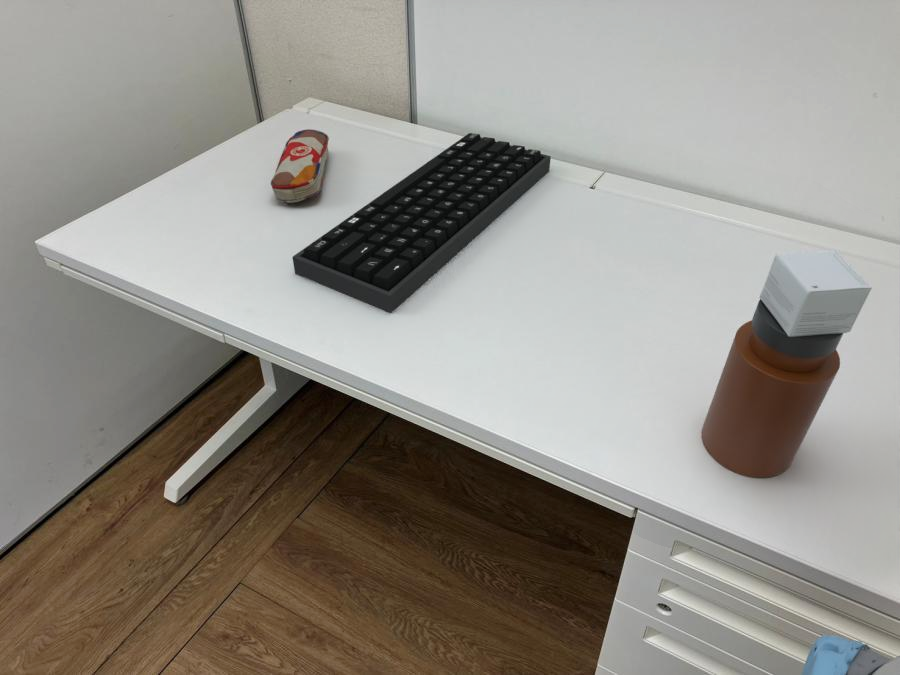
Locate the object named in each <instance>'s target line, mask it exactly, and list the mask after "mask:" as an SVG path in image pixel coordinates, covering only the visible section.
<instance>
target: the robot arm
mask: <svg viewBox="0 0 900 675" xmlns="http://www.w3.org/2000/svg"><path fill="white" fill-rule="evenodd" d="M800 675H900V655H898V656H896V657H894V658H889V657H887V656H885V655H883V654H880V653H878V652H876V651H874V650H872V649H871V647H870V646H869V645H868V644H865V643H863V642H862V641H861V640H854V641H853V640H850V639H848V638H845V637H841V636H840V635H839V636H838V635H835V634H823V635H821V636H819V637H818V638H816V640H815V641H814V642H813V644H812V645H811V647H810V649H809V652H808V654H807V657H806V660H805V662H804V665H803V668H802V670H801V674H800Z"/></svg>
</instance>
